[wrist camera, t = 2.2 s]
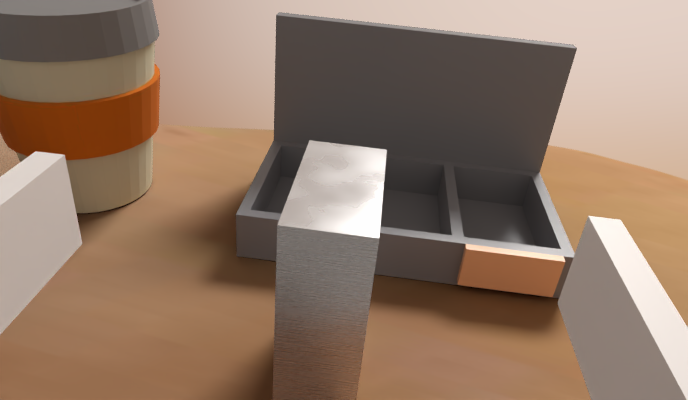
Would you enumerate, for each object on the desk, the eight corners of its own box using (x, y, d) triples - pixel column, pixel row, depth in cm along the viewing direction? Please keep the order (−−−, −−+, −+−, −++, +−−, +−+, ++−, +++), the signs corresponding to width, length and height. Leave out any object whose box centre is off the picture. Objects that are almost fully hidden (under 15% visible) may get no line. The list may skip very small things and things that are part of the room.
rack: (234, 261, 38) (229, 64, 31) (275, 170, 50) (279, 12, 43) (563, 304, 37) (636, 111, 30) (526, 201, 49) (573, 44, 42)
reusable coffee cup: (170, 221, 42) (147, 18, 34) (-15, 232, 39) (-86, 14, 31) (177, 147, 52) (161, -21, 44) (32, 151, 49) (-13, -27, 42)
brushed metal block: (271, 423, 28) (277, 225, 22) (299, 314, 35) (309, 140, 28) (351, 435, 28) (379, 238, 21) (362, 323, 34) (387, 149, 28)
